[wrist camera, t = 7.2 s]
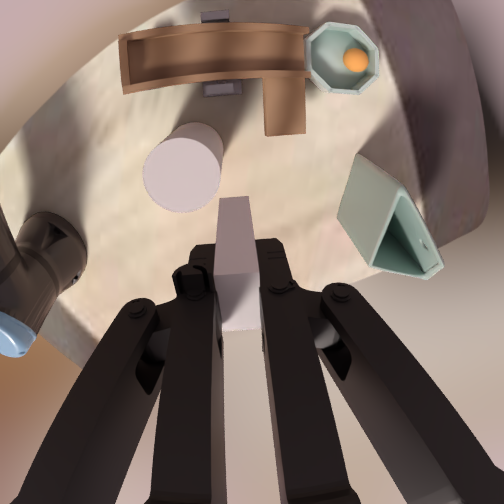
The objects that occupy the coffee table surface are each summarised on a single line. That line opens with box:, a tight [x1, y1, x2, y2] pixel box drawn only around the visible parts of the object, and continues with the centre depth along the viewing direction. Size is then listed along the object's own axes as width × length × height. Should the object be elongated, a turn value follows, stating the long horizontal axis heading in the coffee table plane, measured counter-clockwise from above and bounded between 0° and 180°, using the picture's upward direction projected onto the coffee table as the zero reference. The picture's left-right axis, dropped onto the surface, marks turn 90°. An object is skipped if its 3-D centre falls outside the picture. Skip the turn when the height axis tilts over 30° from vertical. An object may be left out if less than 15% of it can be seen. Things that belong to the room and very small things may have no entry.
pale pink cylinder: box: [143, 122, 224, 213], centre depth 34 cm, size 8×8×12 cm
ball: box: [343, 48, 369, 72], centre depth 30 cm, size 4×4×4 cm
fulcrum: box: [201, 10, 242, 97], centre depth 28 cm, size 5×10×10 cm, turn 3°
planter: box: [337, 153, 445, 280], centre depth 37 cm, size 16×8×20 cm, turn 32°
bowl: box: [303, 22, 379, 95], centre depth 31 cm, size 10×10×4 cm
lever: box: [118, 22, 311, 137], centre depth 26 cm, size 20×13×3 cm
